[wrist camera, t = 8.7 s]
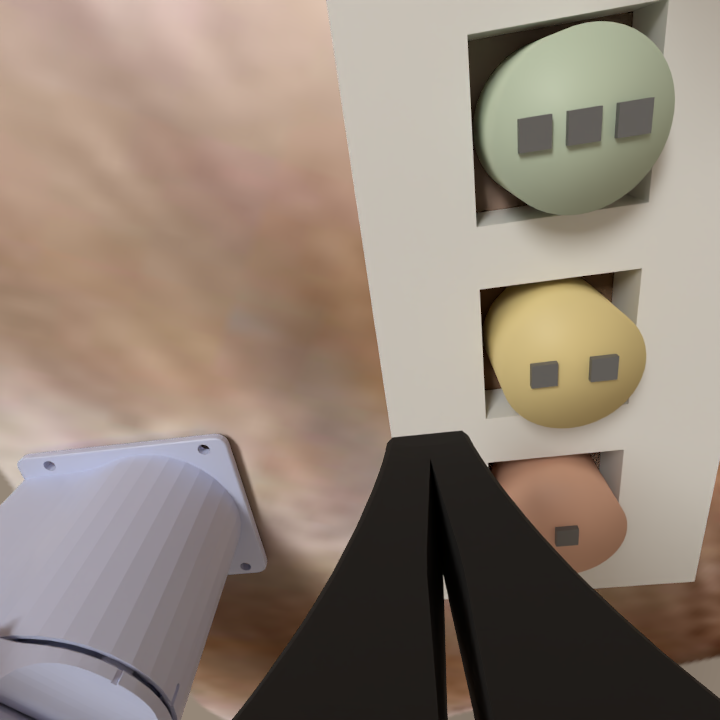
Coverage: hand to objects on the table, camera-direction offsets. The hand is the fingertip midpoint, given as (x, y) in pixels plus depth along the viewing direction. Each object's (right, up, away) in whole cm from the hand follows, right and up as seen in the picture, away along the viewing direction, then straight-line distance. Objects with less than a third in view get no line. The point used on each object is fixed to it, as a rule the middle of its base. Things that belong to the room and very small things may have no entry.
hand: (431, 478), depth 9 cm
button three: (+4, +10, +6) cm, 12 cm away
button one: (+6, -3, +13) cm, 14 cm away
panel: (+5, +3, +10) cm, 12 cm away
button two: (+5, +3, +9) cm, 11 cm away
